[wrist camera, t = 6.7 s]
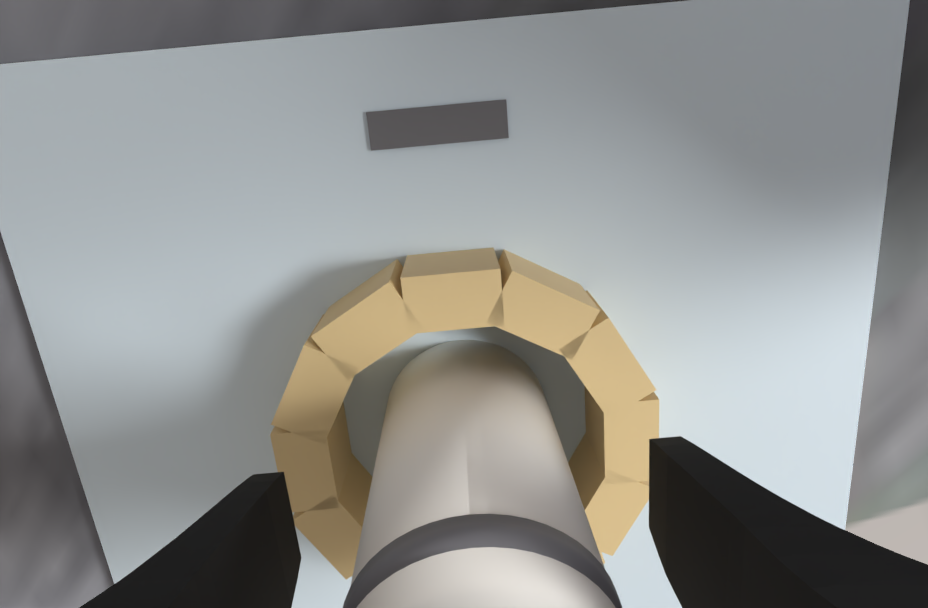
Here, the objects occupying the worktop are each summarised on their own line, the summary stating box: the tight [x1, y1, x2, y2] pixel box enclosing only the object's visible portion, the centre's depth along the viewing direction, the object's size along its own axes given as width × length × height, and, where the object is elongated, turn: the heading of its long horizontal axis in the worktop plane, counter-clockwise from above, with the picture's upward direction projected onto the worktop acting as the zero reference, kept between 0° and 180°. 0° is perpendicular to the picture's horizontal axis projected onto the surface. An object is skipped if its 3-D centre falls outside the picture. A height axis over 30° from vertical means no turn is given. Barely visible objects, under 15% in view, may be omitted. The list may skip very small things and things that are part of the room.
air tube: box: [343, 340, 622, 608], centre depth 11 cm, size 4×4×8 cm
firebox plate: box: [0, 0, 910, 608], centre depth 15 cm, size 20×18×3 cm
